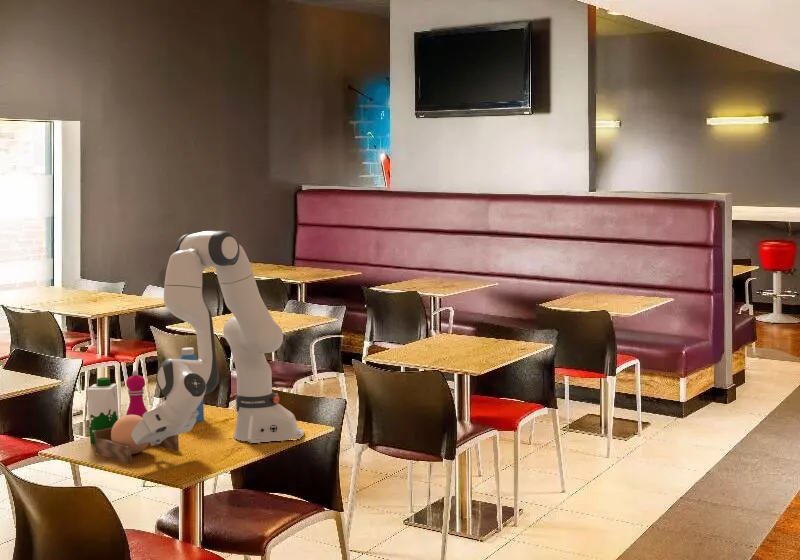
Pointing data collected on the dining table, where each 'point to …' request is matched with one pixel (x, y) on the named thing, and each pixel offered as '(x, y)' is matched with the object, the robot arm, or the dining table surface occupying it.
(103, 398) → the milk carton
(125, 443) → the rubber ball
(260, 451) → the dining table surface
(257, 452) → the dining table surface
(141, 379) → the pepper mill
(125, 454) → the corral
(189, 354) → the water bottle
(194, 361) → the robot arm
